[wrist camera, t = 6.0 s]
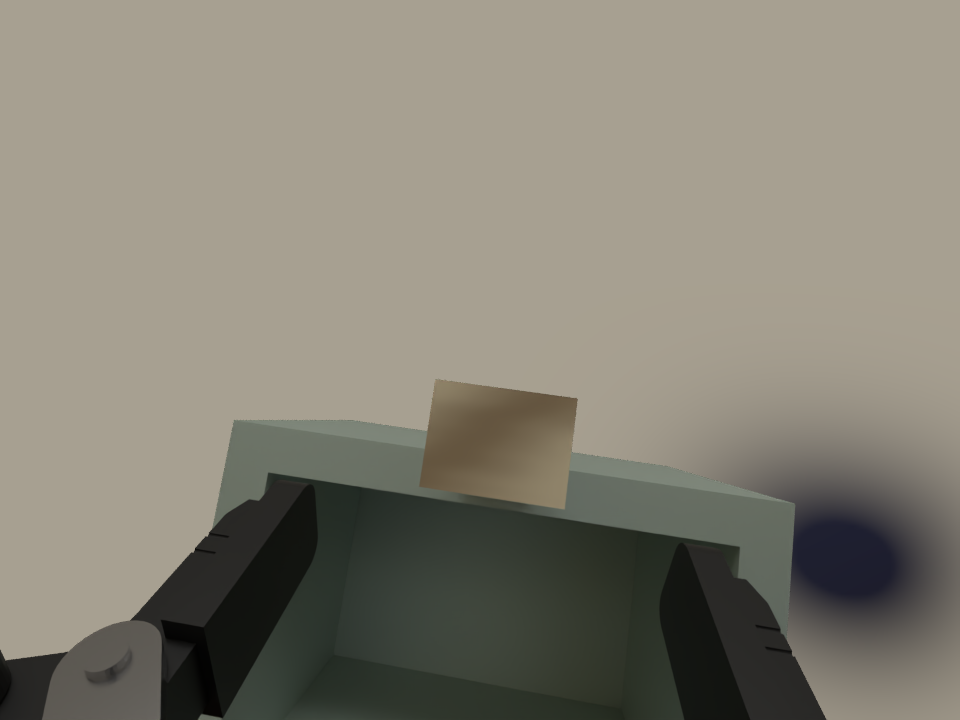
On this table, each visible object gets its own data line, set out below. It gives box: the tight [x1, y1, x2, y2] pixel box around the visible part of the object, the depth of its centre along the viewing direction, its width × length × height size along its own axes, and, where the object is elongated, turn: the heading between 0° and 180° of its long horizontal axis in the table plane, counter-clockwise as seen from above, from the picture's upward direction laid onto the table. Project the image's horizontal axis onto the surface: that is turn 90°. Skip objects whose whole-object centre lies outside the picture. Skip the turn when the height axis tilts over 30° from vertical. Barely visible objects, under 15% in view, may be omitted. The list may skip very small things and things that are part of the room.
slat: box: [419, 379, 577, 509], centre depth 23 cm, size 3×26×2 cm, turn 176°
